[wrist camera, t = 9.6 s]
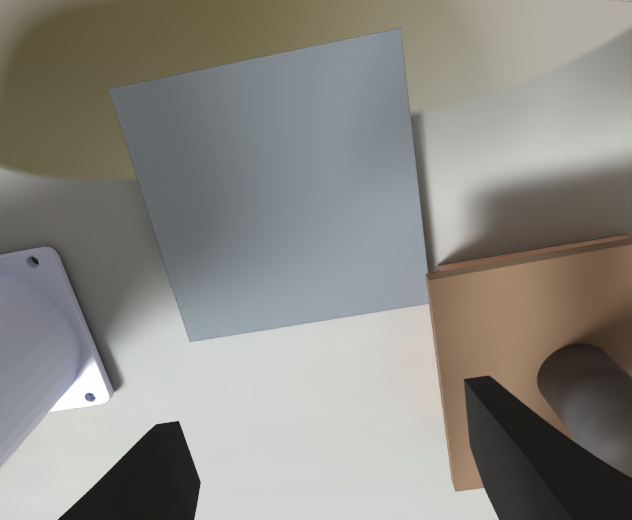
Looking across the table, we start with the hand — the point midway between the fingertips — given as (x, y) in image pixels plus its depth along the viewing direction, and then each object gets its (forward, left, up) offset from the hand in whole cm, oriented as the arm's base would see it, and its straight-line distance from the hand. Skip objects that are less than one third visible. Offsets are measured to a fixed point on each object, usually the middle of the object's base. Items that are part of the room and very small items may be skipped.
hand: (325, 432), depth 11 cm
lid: (+9, -4, -6) cm, 12 cm away
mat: (-1, +4, -9) cm, 10 cm away
